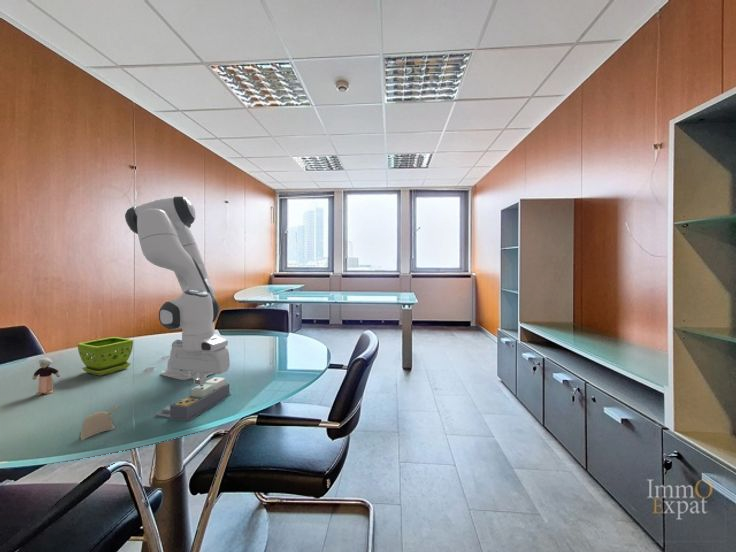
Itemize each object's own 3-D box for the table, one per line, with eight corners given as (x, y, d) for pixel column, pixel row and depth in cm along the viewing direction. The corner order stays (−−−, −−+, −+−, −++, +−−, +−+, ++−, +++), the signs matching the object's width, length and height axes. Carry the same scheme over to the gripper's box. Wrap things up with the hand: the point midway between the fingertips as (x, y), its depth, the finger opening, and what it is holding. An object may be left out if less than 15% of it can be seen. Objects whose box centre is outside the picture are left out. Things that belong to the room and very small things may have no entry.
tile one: (205, 392, 102) (205, 381, 101) (215, 386, 106) (214, 376, 106) (216, 393, 101) (216, 382, 100) (225, 388, 105) (225, 377, 105)
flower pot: (97, 379, 120) (95, 347, 119) (77, 374, 125) (75, 343, 124) (135, 367, 133) (134, 338, 132) (115, 363, 138) (114, 335, 137)
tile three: (175, 415, 90) (174, 403, 90) (187, 408, 94) (186, 397, 94) (187, 417, 89) (187, 405, 89) (199, 410, 93) (198, 398, 93)
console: (155, 416, 91) (155, 403, 91) (201, 391, 108) (201, 380, 108) (188, 421, 88) (188, 407, 88) (230, 394, 105) (230, 383, 105)
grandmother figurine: (28, 397, 103) (26, 360, 103) (34, 393, 107) (32, 357, 106) (59, 393, 107) (57, 357, 106) (63, 389, 110) (62, 354, 110)
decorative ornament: (78, 435, 81) (77, 415, 81) (117, 422, 88) (116, 404, 87) (81, 440, 79) (80, 420, 78) (121, 426, 85) (121, 408, 85)
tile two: (191, 400, 96) (190, 388, 96) (201, 394, 100) (201, 383, 100) (202, 401, 95) (202, 390, 95) (213, 395, 99) (212, 384, 99)
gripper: (163, 341, 96) (164, 384, 96) (217, 346, 91) (219, 391, 91) (180, 336, 102) (181, 377, 103) (232, 340, 97) (233, 383, 97)
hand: (199, 384), depth 97 cm, fingers closed
